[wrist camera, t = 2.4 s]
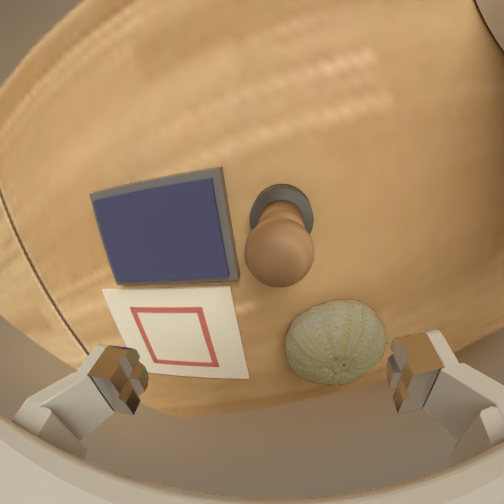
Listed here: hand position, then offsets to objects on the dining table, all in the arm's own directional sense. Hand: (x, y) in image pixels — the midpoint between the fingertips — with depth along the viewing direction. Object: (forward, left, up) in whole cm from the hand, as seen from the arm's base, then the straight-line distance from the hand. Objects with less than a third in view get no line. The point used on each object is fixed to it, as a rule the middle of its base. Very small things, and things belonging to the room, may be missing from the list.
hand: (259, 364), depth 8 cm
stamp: (0, 0, -15) cm, 15 cm away
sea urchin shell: (-4, +12, -15) cm, 20 cm away
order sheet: (+12, +12, -15) cm, 22 cm away
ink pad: (+10, 0, -15) cm, 18 cm away
